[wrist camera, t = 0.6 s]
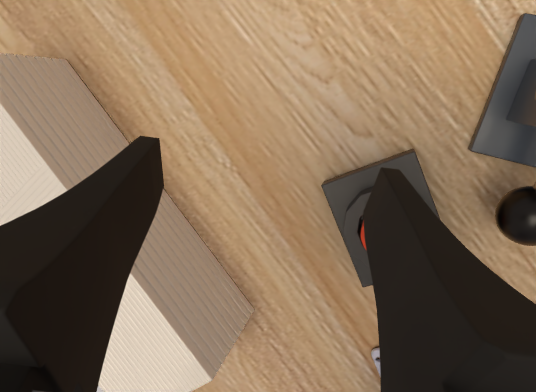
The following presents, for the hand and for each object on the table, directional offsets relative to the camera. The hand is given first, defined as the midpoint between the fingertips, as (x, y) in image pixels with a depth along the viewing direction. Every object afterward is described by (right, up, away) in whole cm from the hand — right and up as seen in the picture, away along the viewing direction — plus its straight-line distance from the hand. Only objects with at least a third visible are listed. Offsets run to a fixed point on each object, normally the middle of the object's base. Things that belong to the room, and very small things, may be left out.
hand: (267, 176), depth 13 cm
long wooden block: (-15, -2, +29) cm, 33 cm away
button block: (+10, -3, +21) cm, 24 cm away
